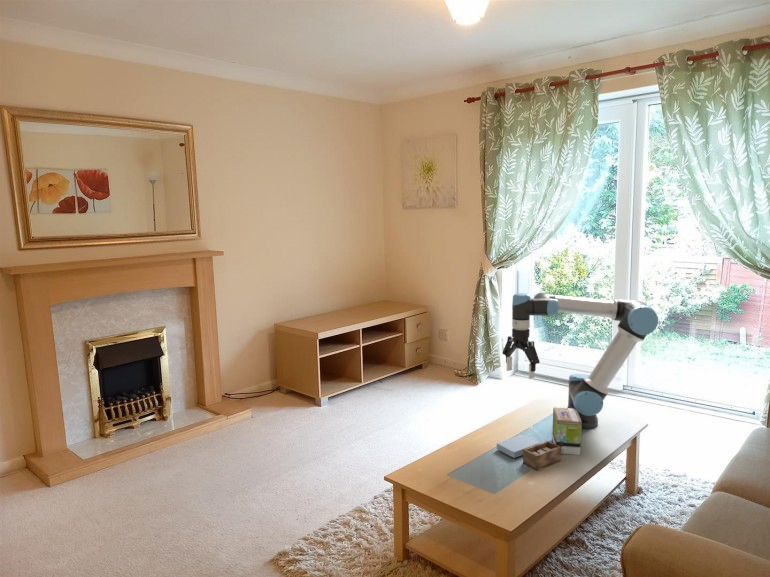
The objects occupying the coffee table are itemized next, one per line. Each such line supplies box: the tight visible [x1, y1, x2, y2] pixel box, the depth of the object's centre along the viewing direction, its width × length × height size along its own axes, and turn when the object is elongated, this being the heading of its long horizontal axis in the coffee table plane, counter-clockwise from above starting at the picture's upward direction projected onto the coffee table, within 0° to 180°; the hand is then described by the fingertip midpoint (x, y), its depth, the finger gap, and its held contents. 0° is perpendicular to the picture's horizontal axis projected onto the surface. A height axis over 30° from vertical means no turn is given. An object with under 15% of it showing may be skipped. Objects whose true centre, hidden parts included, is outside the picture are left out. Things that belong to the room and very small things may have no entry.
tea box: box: [551, 407, 583, 456], centre depth 224 cm, size 15×10×15 cm
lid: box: [496, 434, 541, 459], centre depth 223 cm, size 15×10×3 cm, turn 121°
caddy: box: [522, 440, 562, 471], centre depth 211 cm, size 14×7×6 cm, turn 122°
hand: (520, 374), depth 238 cm, fingers open, 13 cm apart
